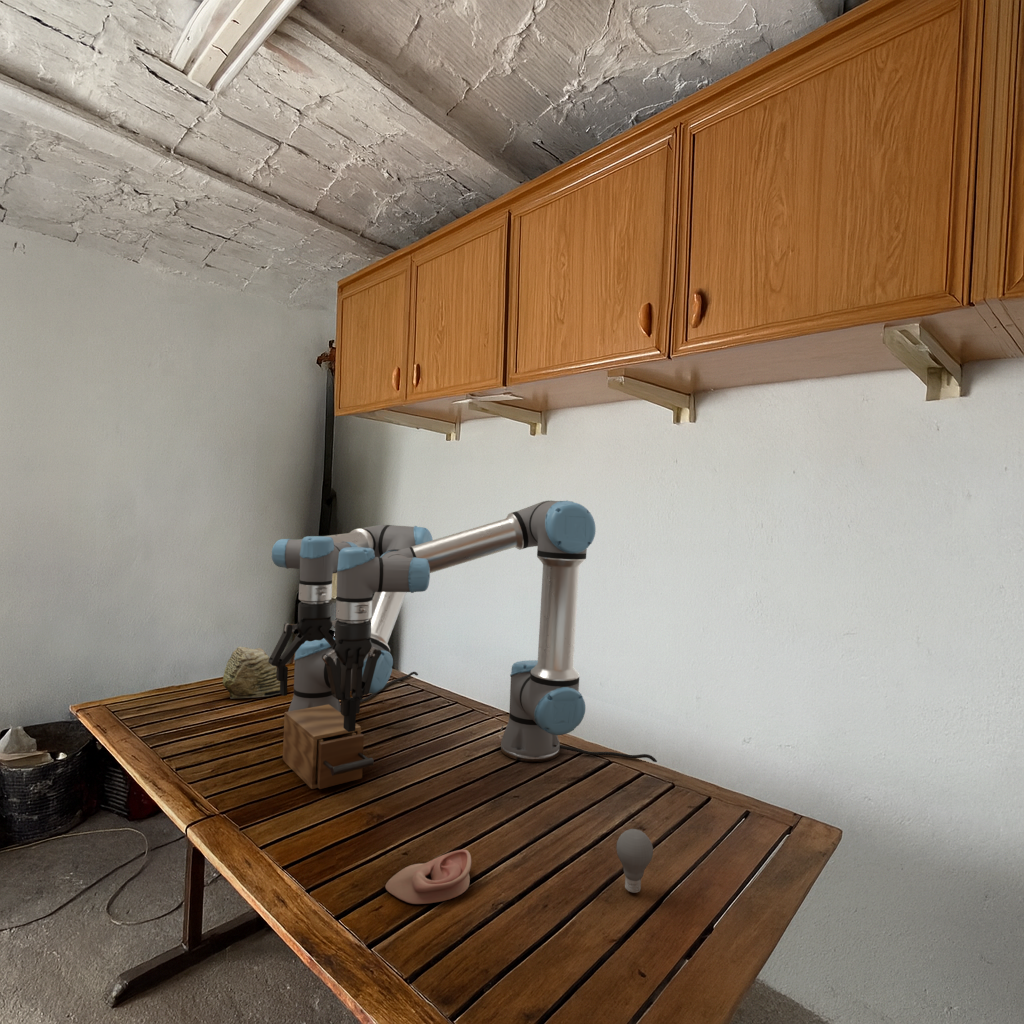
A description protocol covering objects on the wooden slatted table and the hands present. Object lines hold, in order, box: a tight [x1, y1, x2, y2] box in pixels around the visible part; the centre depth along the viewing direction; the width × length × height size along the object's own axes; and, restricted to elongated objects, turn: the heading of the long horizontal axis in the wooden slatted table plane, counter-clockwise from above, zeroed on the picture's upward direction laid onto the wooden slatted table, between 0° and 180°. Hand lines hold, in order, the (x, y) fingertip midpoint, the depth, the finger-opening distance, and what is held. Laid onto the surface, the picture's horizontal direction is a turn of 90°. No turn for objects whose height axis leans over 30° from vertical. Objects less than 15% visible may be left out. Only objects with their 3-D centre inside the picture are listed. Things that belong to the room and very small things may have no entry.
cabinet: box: [282, 704, 362, 790], centre depth 147 cm, size 18×11×12 cm, turn 39°
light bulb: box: [615, 828, 654, 894], centre depth 106 cm, size 6×6×10 cm
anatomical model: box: [385, 849, 472, 905], centre depth 105 cm, size 13×4×12 cm
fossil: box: [222, 646, 281, 699], centre depth 198 cm, size 9×18×15 cm, turn 132°
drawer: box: [316, 732, 375, 790], centre depth 142 cm, size 23×10×10 cm, turn 39°
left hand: (312, 689), depth 151 cm, fingers open, 13 cm apart
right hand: (349, 729), depth 136 cm, fingers closed
